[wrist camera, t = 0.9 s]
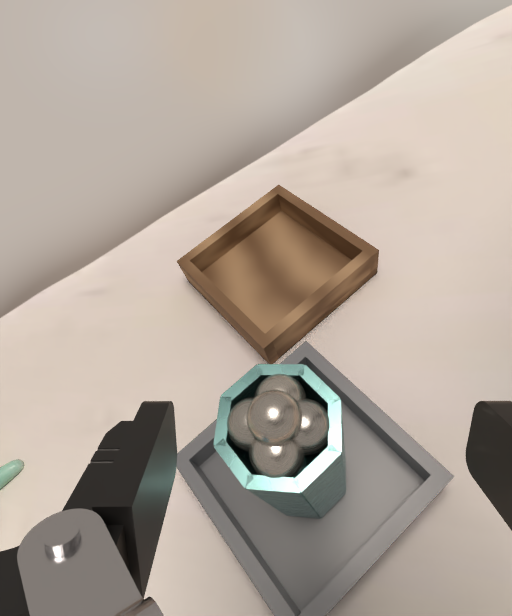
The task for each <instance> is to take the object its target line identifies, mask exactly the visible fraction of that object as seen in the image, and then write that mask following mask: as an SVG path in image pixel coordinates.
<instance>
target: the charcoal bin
mask: <svg viewBox="0 0 512 616" xmlns="http://www.w3.org/2000/svg"><path fill="white" fill-rule="evenodd" d="M280 364H304V366H305V365H306V366H307V367H308V368H309V369H310V370H312V371H313V372H314V373H315V374H316V375H317V376H318V377H319V378H320V379H321V380H322V381H323V382H324V383H325V384H326V385H327V386H328V387H329V388H330V389H331V390H332V391H333V392H334V393H336V394H337V395H338V396H339V397H340V400H341V407H342V419H343V432H344V444H345V456H346V494H345V495H344V496H343V497H342V498H341V499H340V500H339V501H338V502H337V503H336V504H335V505H334V506H333V507H332V508H331V509H330V510H329V511H328V512H327V513H326V514H325V515H324V516H323V517H322V518H321V519H318V518H306V517H295V516H286V515H285V514H283V513H281V512H280V511H278V510H277V509H275V508H274V507H272V506H271V505H269V504H268V503H266V502H265V501H263V500H262V499H260V498H259V497H257V496H256V495H254V494H253V493H251V492H249V491H248V490H246V489H245V488H244V487H243V486H242V484H241V483H240V482H239V480H238V479H237V478H236V476H235V475H234V474H233V472H232V471H231V470H230V468H229V467H228V466H227V464H226V463H225V461H224V460H223V459H222V457H221V456H220V455H219V453H218V452H217V451H216V449H215V448H214V445H213V444H214V437H215V430H216V423H217V419H216V420H215V421H214V422H213V423H212V424H211V425H209V426H208V427H207V428H206V429H205V430H204V431H203V432H201V433H200V434H199V435H198V436H197V437H196V438H195V439H193V440H192V441H191V442H190V443H189V444H188V445H187V446H185V447H184V448H183V449H182V450H181V451H180V452H179V453H177V465H176V467H177V468H178V470H179V472H180V473H181V475H182V476H183V478H184V479H185V481H186V482H187V484H188V485H189V487H190V488H191V490H192V491H193V493H194V494H195V496H196V497H197V499H198V500H199V502H200V503H201V505H202V506H203V508H204V509H205V511H206V513H207V514H208V516H209V517H210V519H211V520H212V522H213V523H214V525H215V526H216V528H217V529H218V531H219V532H220V534H221V535H222V537H223V538H224V540H225V541H226V543H227V544H228V546H229V547H230V549H231V550H232V552H233V554H234V555H235V557H236V558H237V560H238V561H239V563H240V564H241V566H242V567H243V569H244V570H245V572H246V573H247V575H248V576H249V578H250V579H251V581H252V582H253V584H254V585H255V587H256V588H257V590H258V591H259V593H260V595H261V596H262V598H263V599H264V601H265V602H266V604H267V605H268V607H269V608H270V610H271V611H272V613H273V614H274V616H326V615H327V614H328V613H329V612H330V611H331V610H332V609H333V607H334V606H335V605H336V604H337V603H338V602H339V601H340V600H341V599H342V598H343V597H344V596H345V594H346V593H347V592H348V591H349V590H350V589H351V588H352V587H353V586H354V585H355V584H356V583H357V581H358V580H359V579H360V578H361V577H362V576H363V575H364V574H365V573H366V572H367V571H368V570H369V568H370V567H371V566H372V565H373V564H374V563H375V562H376V561H377V560H378V559H379V558H380V556H381V555H382V554H383V553H384V552H385V551H386V550H387V549H388V548H389V547H390V546H391V545H392V543H393V542H394V541H395V540H396V539H397V538H398V537H399V536H400V535H401V534H402V533H403V532H404V530H405V529H406V528H407V527H408V526H409V525H410V524H411V523H412V522H413V521H414V520H415V519H416V517H417V516H418V515H419V514H420V513H421V512H422V511H423V510H424V509H425V508H426V507H427V506H428V504H429V503H430V502H431V501H432V500H433V499H434V498H435V497H436V496H437V495H438V494H439V493H440V491H441V490H442V489H443V488H444V487H445V486H446V485H447V484H448V483H449V482H450V481H451V480H452V478H453V477H454V476H453V475H452V474H451V473H450V472H449V471H448V470H447V469H446V468H445V467H444V466H442V465H441V464H440V463H439V462H438V461H437V460H436V459H435V458H434V457H433V456H431V455H430V454H429V453H428V452H427V451H426V450H425V449H424V448H423V447H422V446H421V445H419V444H418V443H417V442H416V441H415V440H414V439H413V438H412V437H411V436H410V435H408V434H407V433H406V432H405V431H404V430H403V429H402V428H401V427H400V426H399V425H398V424H396V423H395V422H394V421H393V420H392V419H391V418H390V417H389V416H388V415H387V414H385V413H384V412H383V411H382V410H381V409H380V408H379V407H378V406H377V405H376V404H375V403H373V402H372V401H371V400H370V399H369V398H368V397H367V396H366V395H365V394H364V393H362V392H361V391H360V390H359V389H358V388H357V387H356V386H355V385H354V384H353V383H352V382H350V381H349V380H348V379H347V378H346V377H345V376H344V375H343V374H342V373H341V372H339V371H338V370H337V369H336V368H335V367H334V366H333V365H332V364H331V363H330V362H329V361H327V360H326V359H325V358H324V357H323V356H322V355H321V354H320V353H319V352H318V351H316V350H315V349H314V348H313V347H312V346H311V345H310V344H309V343H308V342H307V341H305V342H304V343H303V344H302V345H301V346H300V347H298V348H297V349H296V350H295V351H294V352H293V353H292V354H290V355H289V356H288V357H287V358H286V359H285V360H284V361H282V362H281V363H280Z"/></svg>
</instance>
